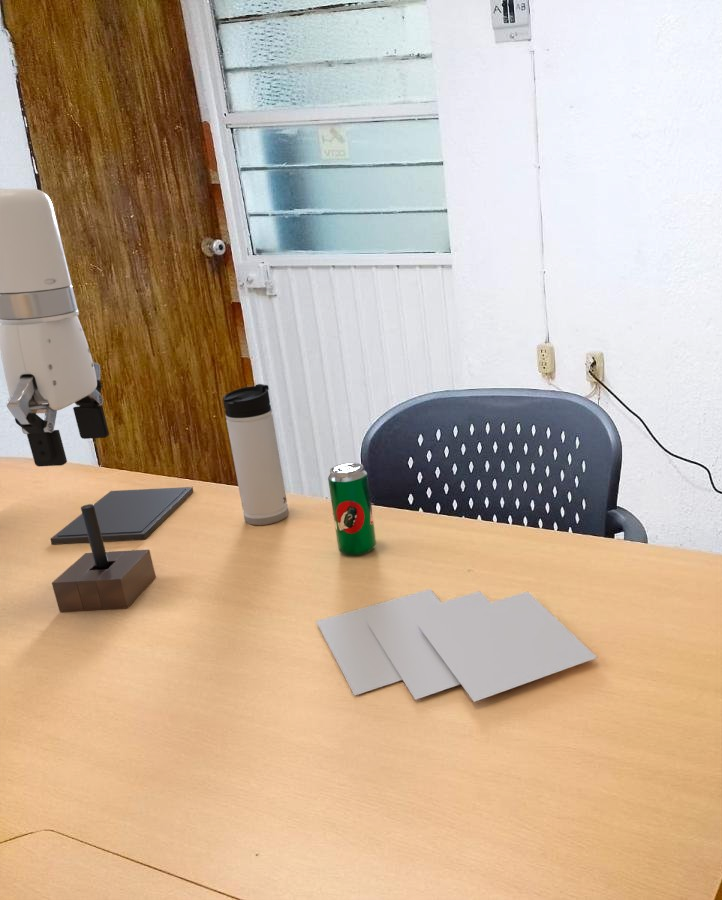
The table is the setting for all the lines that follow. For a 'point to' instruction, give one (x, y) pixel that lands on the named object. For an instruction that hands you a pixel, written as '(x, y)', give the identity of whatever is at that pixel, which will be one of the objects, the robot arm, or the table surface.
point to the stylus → (95, 537)
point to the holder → (104, 581)
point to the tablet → (127, 515)
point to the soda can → (352, 509)
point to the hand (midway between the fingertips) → (74, 450)
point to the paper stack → (451, 644)
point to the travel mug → (256, 455)
